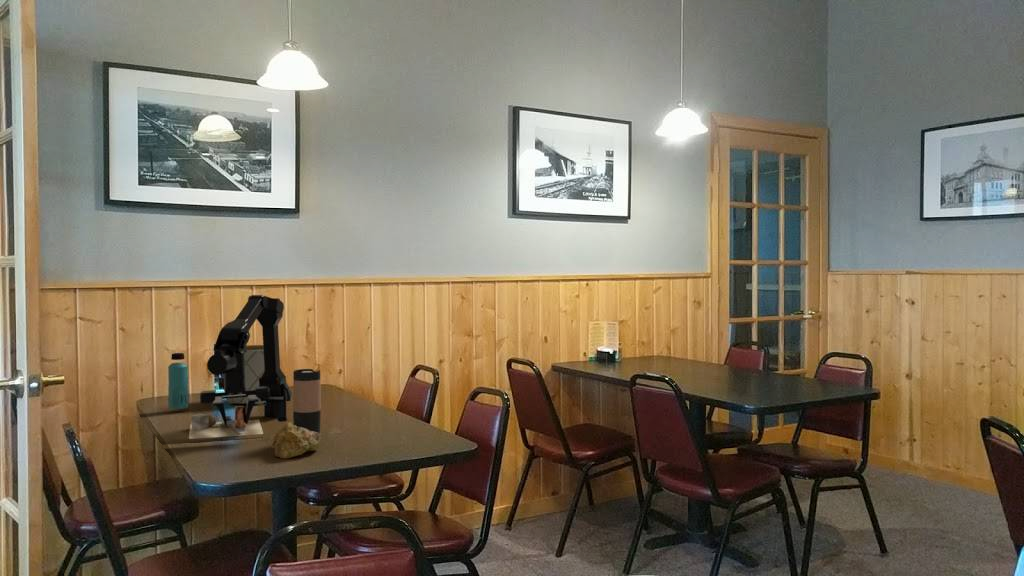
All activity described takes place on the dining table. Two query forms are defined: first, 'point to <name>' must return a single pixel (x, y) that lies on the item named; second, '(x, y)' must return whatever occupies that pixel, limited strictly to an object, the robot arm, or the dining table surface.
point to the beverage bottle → (178, 383)
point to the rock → (295, 441)
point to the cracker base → (219, 429)
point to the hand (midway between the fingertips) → (236, 424)
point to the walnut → (212, 420)
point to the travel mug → (307, 399)
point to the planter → (251, 372)
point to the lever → (237, 419)
